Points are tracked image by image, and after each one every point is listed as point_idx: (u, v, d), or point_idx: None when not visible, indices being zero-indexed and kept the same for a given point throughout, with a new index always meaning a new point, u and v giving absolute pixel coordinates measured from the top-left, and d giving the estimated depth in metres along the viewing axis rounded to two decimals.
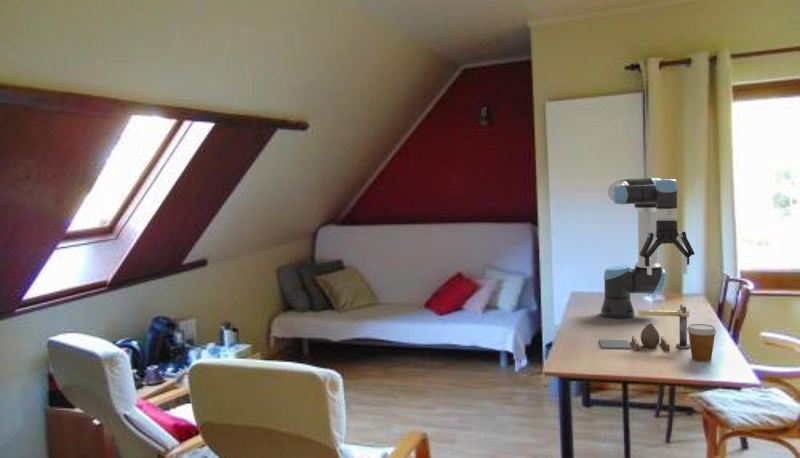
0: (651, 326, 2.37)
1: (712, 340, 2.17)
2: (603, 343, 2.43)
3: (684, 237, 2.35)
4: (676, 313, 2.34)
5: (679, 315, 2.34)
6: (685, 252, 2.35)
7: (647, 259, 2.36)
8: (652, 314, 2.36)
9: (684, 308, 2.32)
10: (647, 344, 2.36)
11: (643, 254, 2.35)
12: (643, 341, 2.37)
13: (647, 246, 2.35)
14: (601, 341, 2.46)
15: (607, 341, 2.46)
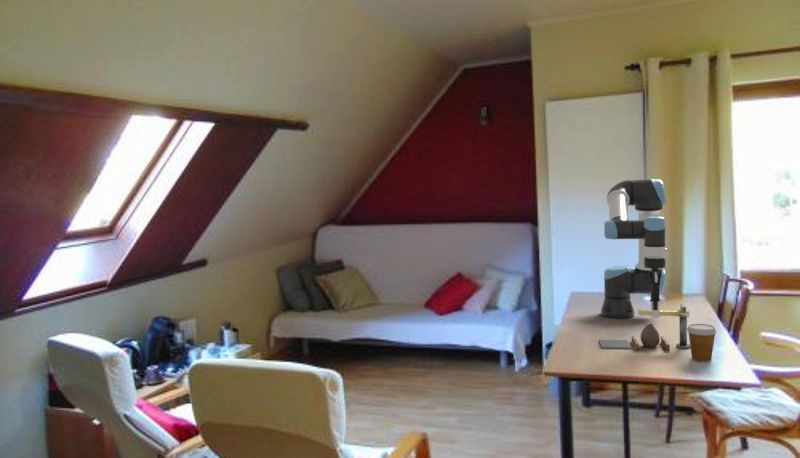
0: (651, 326, 2.37)
1: (712, 340, 2.17)
2: (603, 343, 2.43)
3: None
4: (676, 313, 2.34)
5: (679, 315, 2.34)
6: None
7: (657, 302, 2.34)
8: None
9: (684, 308, 2.32)
10: (647, 344, 2.36)
11: (659, 298, 2.32)
12: (643, 341, 2.37)
13: (659, 290, 2.31)
14: (601, 341, 2.46)
15: (607, 341, 2.46)
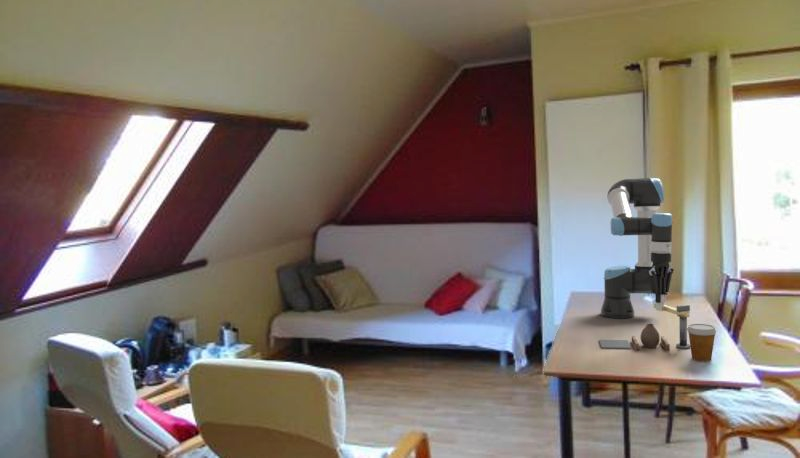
0: (651, 326, 2.37)
1: (712, 340, 2.17)
2: (603, 343, 2.43)
3: (670, 273, 2.45)
4: (675, 311, 2.37)
5: (677, 314, 2.36)
6: (664, 289, 2.44)
7: (659, 296, 2.43)
8: None
9: (677, 307, 2.34)
10: (647, 344, 2.36)
11: (657, 291, 2.42)
12: (643, 341, 2.37)
13: (656, 283, 2.41)
14: (601, 341, 2.46)
15: (607, 341, 2.46)
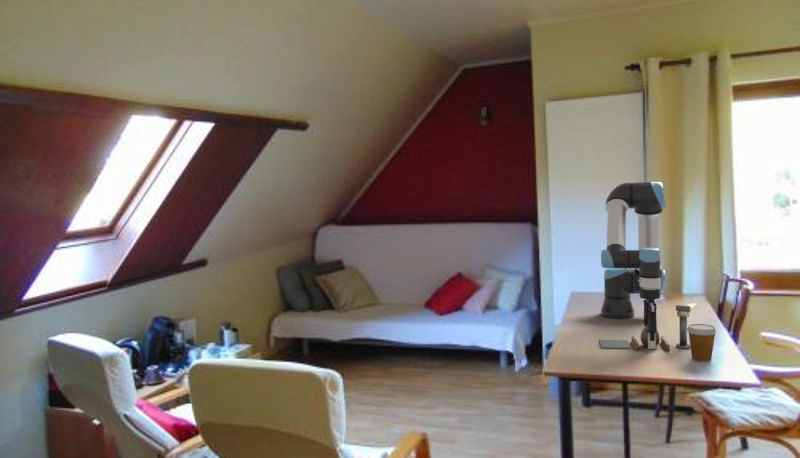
0: None
1: (712, 340, 2.17)
2: (603, 343, 2.43)
3: (649, 311, 2.32)
4: None
5: None
6: (648, 326, 2.34)
7: None
8: None
9: None
10: (647, 344, 2.36)
11: None
12: (643, 341, 2.37)
13: (644, 313, 2.44)
14: (601, 341, 2.46)
15: (607, 341, 2.46)
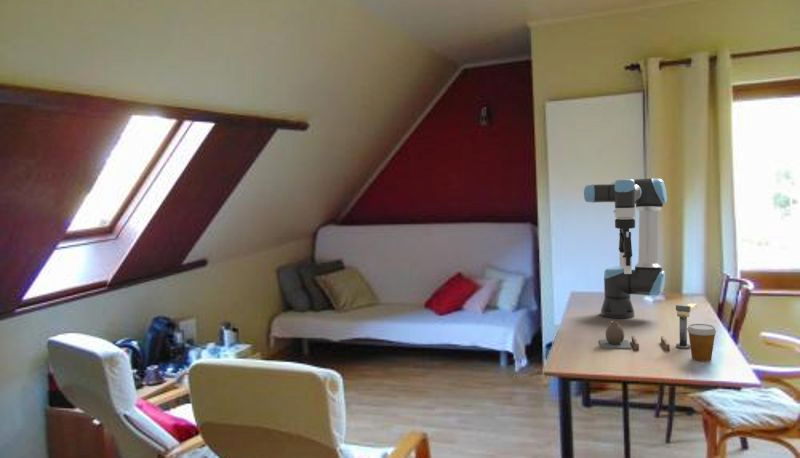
0: (615, 323, 2.41)
1: (712, 340, 2.17)
2: (603, 343, 2.43)
3: (624, 237, 2.38)
4: None
5: None
6: (624, 252, 2.38)
7: (620, 253, 2.52)
8: None
9: None
10: (611, 341, 2.40)
11: (619, 247, 2.54)
12: (608, 338, 2.41)
13: (619, 241, 2.52)
14: (601, 341, 2.46)
15: (607, 341, 2.46)
